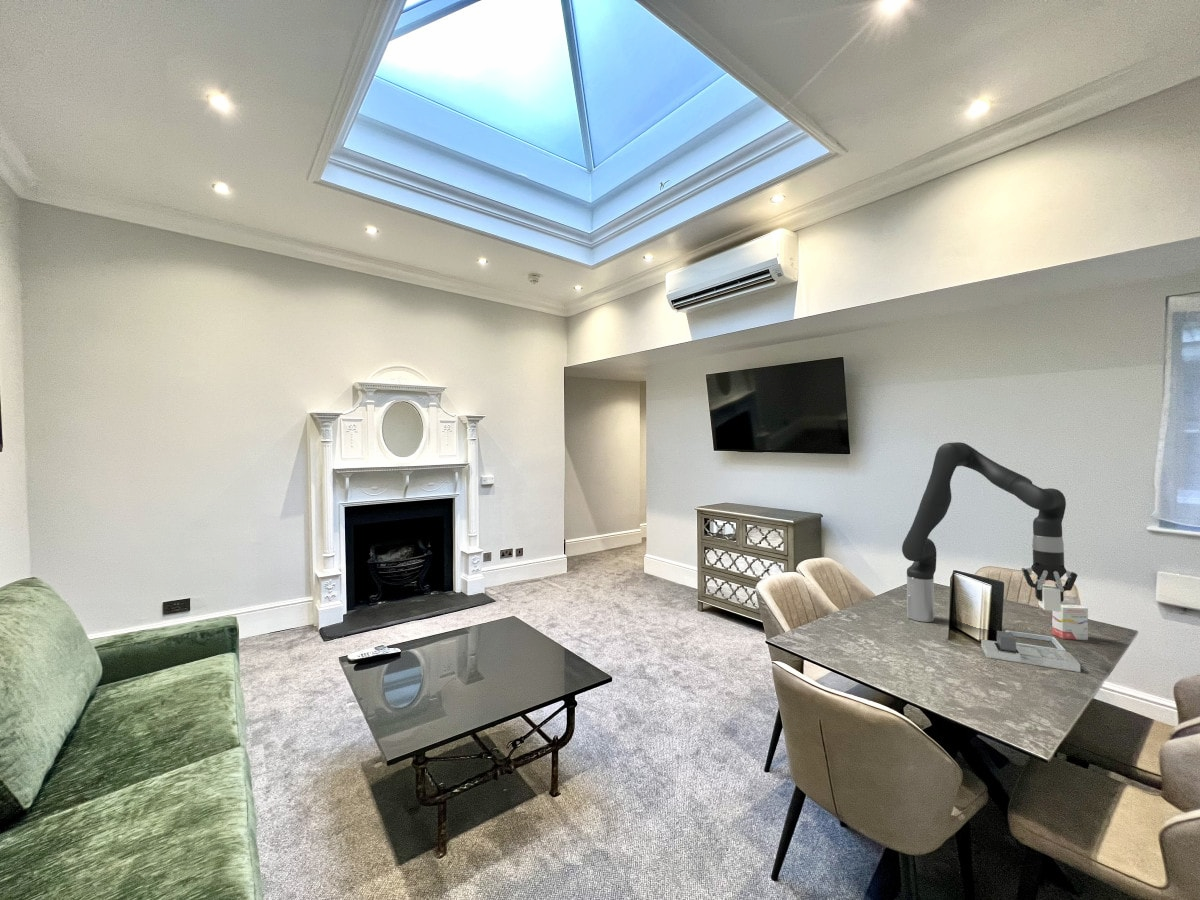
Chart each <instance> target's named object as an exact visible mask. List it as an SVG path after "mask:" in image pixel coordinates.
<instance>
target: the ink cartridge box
mask: <svg viewBox="0 0 1200 900" xmlns="http://www.w3.org/2000/svg"><path fill="white" fill-rule="evenodd" d="M1063 596H1064V600H1063V602H1062V601H1061V612H1058V611H1051V612H1052V615H1051V616H1052V618H1051V619H1052V623H1051V624H1052V626H1051V627H1052V628H1051V629H1052V631H1051V632H1052V636H1053V635H1054V636H1055V637H1058V638H1060V639H1063V640H1079V641H1080V640H1083V641H1085V640H1086V641H1088V640H1089V632H1088V631H1089V628H1088V627H1089V608H1088V607H1086V606H1083V605H1080V604H1077V603H1078V602H1077V601H1078V600H1077V599H1078V597H1077V596H1076V595H1063ZM1065 599H1066V600H1065Z"/></svg>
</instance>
